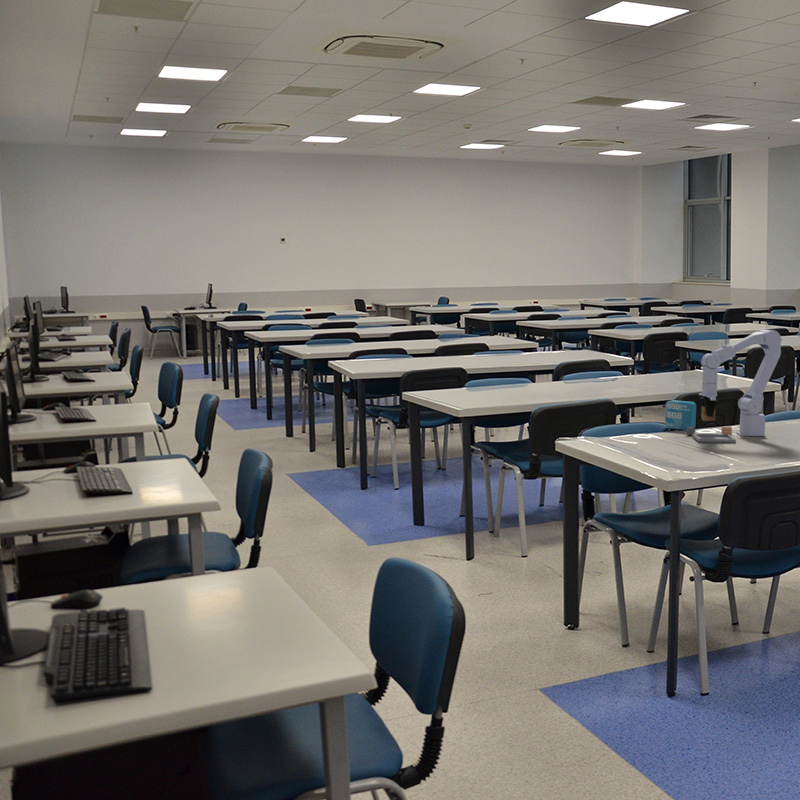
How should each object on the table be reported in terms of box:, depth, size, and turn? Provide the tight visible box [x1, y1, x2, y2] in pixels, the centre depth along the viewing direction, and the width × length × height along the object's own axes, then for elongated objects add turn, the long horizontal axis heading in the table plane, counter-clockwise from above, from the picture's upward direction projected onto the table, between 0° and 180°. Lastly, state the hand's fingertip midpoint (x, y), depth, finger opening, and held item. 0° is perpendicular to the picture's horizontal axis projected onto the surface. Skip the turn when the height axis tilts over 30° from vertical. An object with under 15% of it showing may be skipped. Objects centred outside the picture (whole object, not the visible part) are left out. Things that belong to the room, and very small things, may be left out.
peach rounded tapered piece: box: [720, 425, 733, 437], centre depth 342 cm, size 4×4×4 cm
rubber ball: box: [685, 427, 696, 436], centre depth 346 cm, size 4×4×4 cm
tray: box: [692, 433, 737, 444], centre depth 334 cm, size 14×12×2 cm
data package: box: [664, 399, 697, 431], centre depth 362 cm, size 12×4×12 cm, turn 46°
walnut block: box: [700, 405, 716, 422], centre depth 343 cm, size 4×4×6 cm
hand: (708, 415), depth 343 cm, fingers closed on walnut block, 4 cm apart
